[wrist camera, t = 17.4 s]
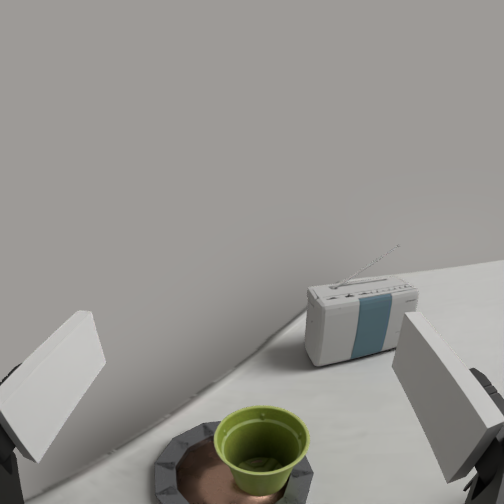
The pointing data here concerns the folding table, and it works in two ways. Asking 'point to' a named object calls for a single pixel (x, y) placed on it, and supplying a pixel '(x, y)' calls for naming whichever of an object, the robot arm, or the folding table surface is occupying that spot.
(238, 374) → the folding table surface
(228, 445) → the plant pot
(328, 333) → the stereo radio cassette player
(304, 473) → the steel ring
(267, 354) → the folding table surface
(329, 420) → the folding table surface
